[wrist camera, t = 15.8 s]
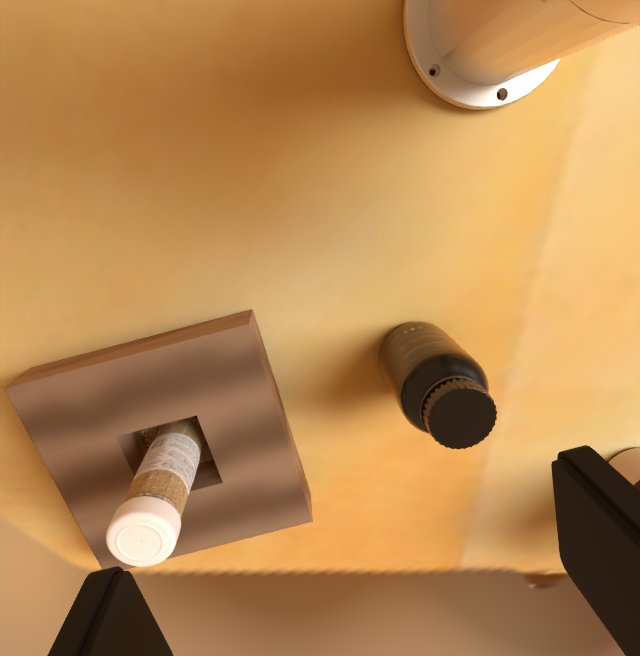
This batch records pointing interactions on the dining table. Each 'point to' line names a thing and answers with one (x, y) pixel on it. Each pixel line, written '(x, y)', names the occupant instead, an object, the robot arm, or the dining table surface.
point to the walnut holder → (164, 407)
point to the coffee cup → (628, 465)
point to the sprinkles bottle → (157, 496)
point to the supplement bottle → (437, 385)
